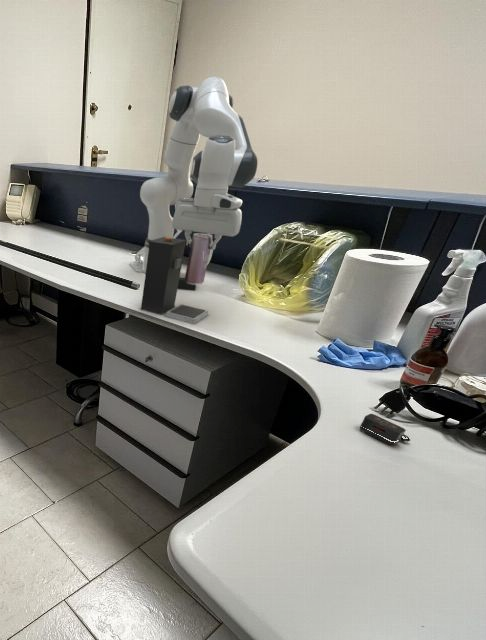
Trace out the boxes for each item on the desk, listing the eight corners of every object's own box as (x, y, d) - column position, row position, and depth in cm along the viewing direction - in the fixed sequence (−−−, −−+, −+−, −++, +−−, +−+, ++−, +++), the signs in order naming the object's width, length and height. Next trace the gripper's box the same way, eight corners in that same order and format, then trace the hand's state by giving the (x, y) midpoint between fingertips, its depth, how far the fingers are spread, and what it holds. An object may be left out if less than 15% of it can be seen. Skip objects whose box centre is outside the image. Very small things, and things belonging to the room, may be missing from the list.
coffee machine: (139, 309, 143) (148, 238, 131) (154, 301, 151) (164, 234, 139) (194, 323, 132) (209, 247, 120) (207, 314, 139) (223, 242, 127)
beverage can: (193, 279, 137) (202, 232, 129) (207, 283, 132) (217, 235, 125) (180, 281, 134) (188, 233, 126) (194, 286, 129) (203, 237, 122)
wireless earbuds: (396, 449, 77) (404, 436, 76) (357, 429, 83) (363, 416, 81) (409, 442, 79) (417, 429, 78) (370, 423, 85) (376, 410, 83)
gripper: (172, 197, 124) (165, 244, 131) (240, 203, 113) (229, 254, 120) (181, 196, 128) (174, 241, 135) (248, 201, 117) (236, 250, 124)
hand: (200, 247), depth 127 cm, fingers closed on beverage can, 6 cm apart
